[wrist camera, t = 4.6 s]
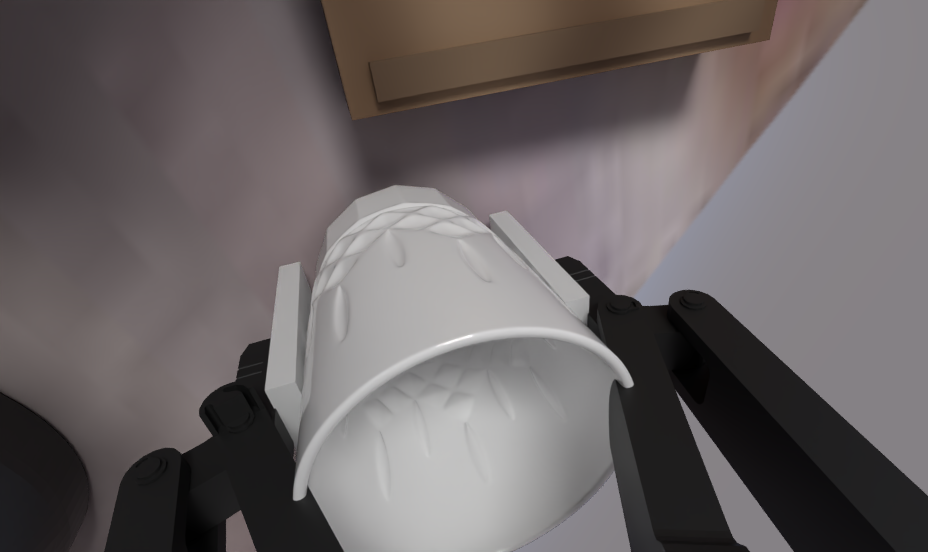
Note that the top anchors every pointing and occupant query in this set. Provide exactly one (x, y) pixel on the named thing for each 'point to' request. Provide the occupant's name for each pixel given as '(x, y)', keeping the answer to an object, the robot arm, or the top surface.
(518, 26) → the tan flat block
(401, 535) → the white cup
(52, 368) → the top surface
